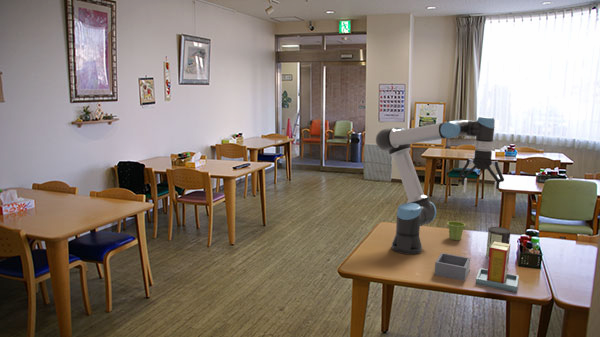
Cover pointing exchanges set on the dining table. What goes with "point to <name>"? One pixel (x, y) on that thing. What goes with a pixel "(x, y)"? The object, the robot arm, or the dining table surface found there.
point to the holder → (452, 266)
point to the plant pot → (455, 230)
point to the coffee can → (497, 237)
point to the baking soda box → (498, 262)
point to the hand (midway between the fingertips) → (479, 193)
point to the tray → (509, 284)
